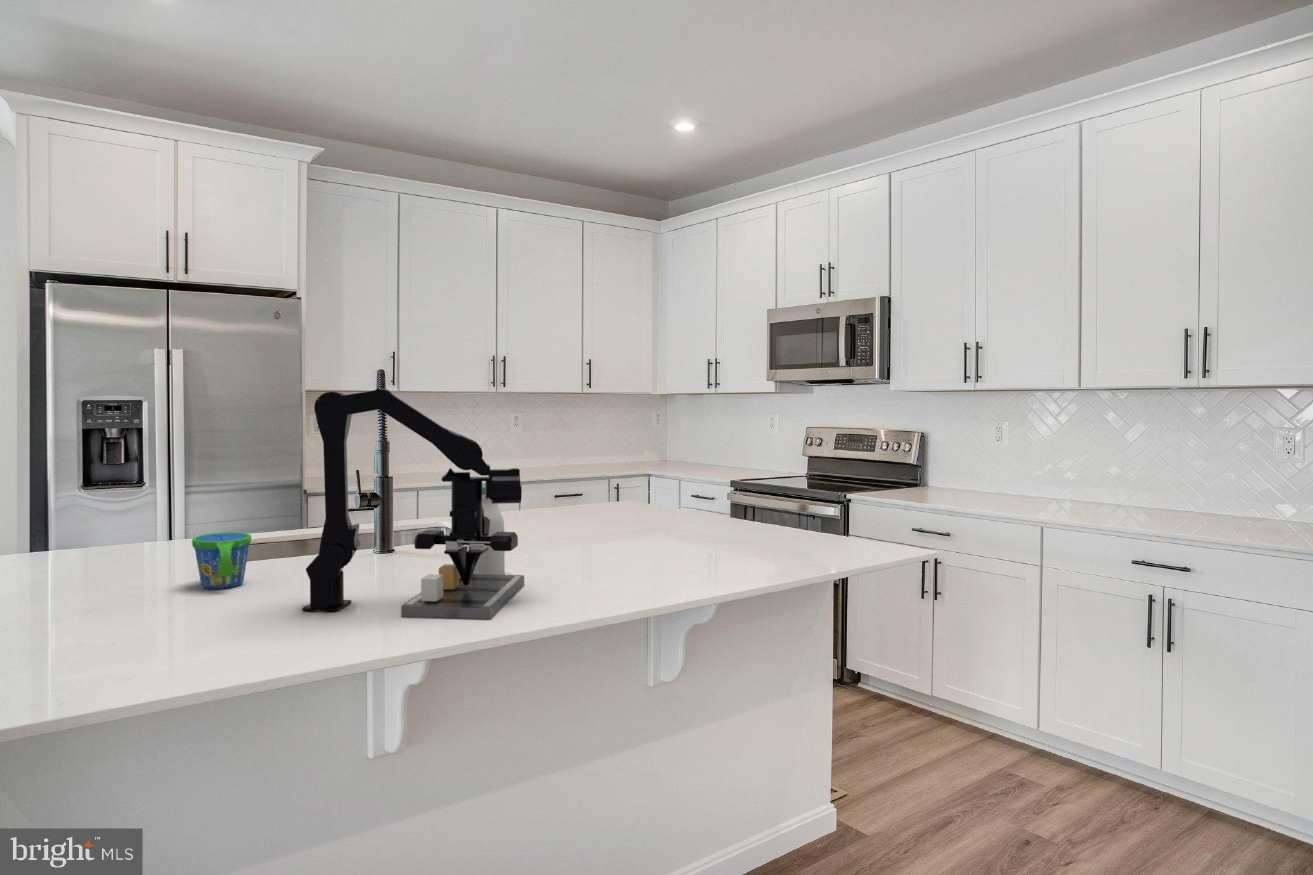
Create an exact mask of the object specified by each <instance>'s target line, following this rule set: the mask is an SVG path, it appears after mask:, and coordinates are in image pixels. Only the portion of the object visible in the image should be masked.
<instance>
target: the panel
mask: <svg viewBox="0 0 1313 875" xmlns="http://www.w3.org/2000/svg"><path fill="white" fill-rule="evenodd" d="M524 586H525V575H524V574H523V575H522V574H521V575H520V574H518V575H517V574H504V575H487V574H473V575H472V578H471V581H470V584H469V585H464V584H463V581H462V579H461V578H459V585H458V586H457V587H456V588H454V589H443V597H442V598H440V599H439V600H438V601H421V592H420V593H418V594H417V595H414V597H412V598H411V599H409V600H408V601H406V602H405V603H403V604H402V605H401V606H400V612H401V613H400V615H401V618H422V619H423V618H426V619H455V620H456V619H457V620H459V619H462V620H465V619H466V620H492V618H494V617H495V615H496V614H497V613H498V612H499V611H500V610H501V609H502V608H503V607H504V606H505V605H506V604H507V603H508V602H509V601H510V600H511V599H512V598H513V597H514V596H515V595H516V594H517V593H518V592H519V591H520V590H521V589H522V588H523V587H524Z"/></svg>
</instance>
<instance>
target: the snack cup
mask: <svg viewBox="0 0 1313 875" xmlns="http://www.w3.org/2000/svg"><path fill="white" fill-rule="evenodd" d="M251 542H252V535H251V534H250V533H245V532H217V533H209V534H202V535H198V536H194V537H193V538H192V540H191V544H192V545H191V546H192V548H193V549H194V551H195V552H194V553H195V558H196V564H197V568H198V569H197V570H198V575H199V580H200V585H201V586H202V587H204V588H205V589H207V590H209V589H213V590H223V589H224V588H225V589H230V588H235V586H236V587H239V586H241V585H242V584H243V583H244V579H245V573H246V565H247V561H248V556H249V555H248V554H249V549H250V548H249V547H250V544H251Z"/></svg>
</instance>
